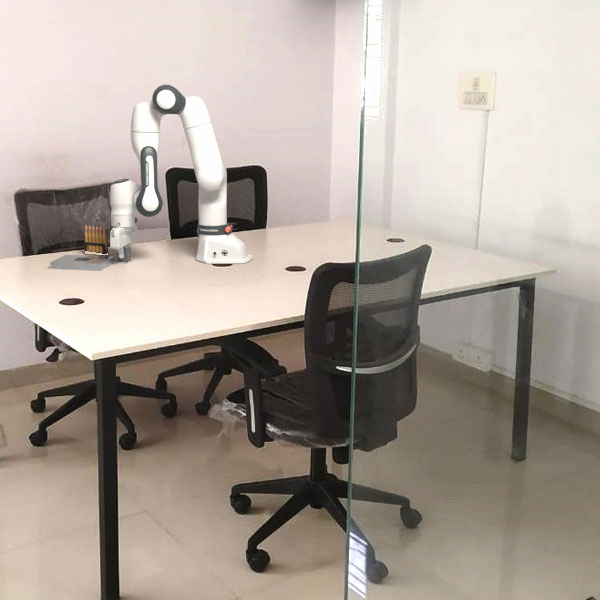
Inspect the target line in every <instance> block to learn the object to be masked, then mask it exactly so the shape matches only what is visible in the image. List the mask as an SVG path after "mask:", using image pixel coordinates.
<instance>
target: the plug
mask: <svg viewBox="0 0 600 600" xmlns="http://www.w3.org/2000/svg"><path fill="white" fill-rule="evenodd" d="M131 247H132V246H129V245H126V246H124V249H123V252H124V253H125V257H124V258H119V253H118V250H117V249H116V250H117V251H116V252H117V263H118V262H127V263H126V264H129V263H130V262H132V249H131ZM129 261H130V262H129ZM128 262H129V263H128Z"/></svg>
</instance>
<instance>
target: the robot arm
mask: <svg viewBox="0 0 600 600" xmlns="http://www.w3.org/2000/svg"><path fill="white" fill-rule="evenodd" d="M151 98H152V99H150V100H149V101H140V102H138V103H136V104H135V105H134V106H133V110H132V113H131V119H130V120H131V122H130V141H131V148H132V150H133V153H135V155H136V158H137V160H138V163H139V169H140V171H139V172H140V184H138V183H137V182H134V181H132V179H130V178H122V179H117V180H114V181H113V182H112V183H111V185H110V188H109V205H110V206H111V211H110V225H111V227H113V228H111V230H110V232H109V235H110V236H109V246H110V249H112V250H118V253H119V258H124V257H125V253H124V252H123V249H124V246H126V245H129V246H131V243H133V242H135V241H137V237H138V225H137V224H138V223H139V218H138V217H137V216H135V212H136V211H137V212H138V213H139V214H140V215H142V216H143V217H145V218H152V217H155V216H157V215H158V214H160V212H161V211H162V208H163V203H164V202H163V199H162V198H163V197H162V196H161V194H160V190H159V186H158V185H159V184H158V183H159V181H158V158H159V149H160V140H161V139H160V138H161V120H162V117H164V116H165V115H178V117H179V118H180V121H181V122H182V127H183V130H184V135H185V137H186V142H187V145H188V148H189V152H190V156H191V161H192V166H193V170H194V174H195V178H196V181H197V184H198V202H197V203H198V205H197V206H198V207H197V208H198V224H197V238H198V241H197V242H198V243H197V252H196V256H195V260H196V261H198V262H202V263H204V264H207V265H208V264H218V265H219V264H247V263H249V262H251V261H253V255H252V254H251V253H250V254H248V250H247V245H246V243H245V242H244V241H242V240H241V239H240V238H239V237H238V236H236V235H235V234H234V233H233V225H232V224H231V225H230V224H229V223H228V221H227V220H228V218H227V217H228V215H227V214H228V212H227V210H228V209H227V207H228V205H227V203H228V201H227V199H228V198H227V196H228V195H227V194H228V190H227V189H228V183H227V182H228V181H227V180H228V179H227V178H228V172H227V167H226V165H225V164H224V163H223V160H222V157H221V152H220V149H219V143H218V139H217V136H216V132H215V128H214V126H213V125H214V124H213V122H212V119H211V115H210V112H209V110H208V108H207V106H206V103H205V101H204V100H203V99H202V98H201V97H200V96H197V95H192V96H191V95H190V96H185V95H183V94H182V92H181V90H179V88H178V87H177V86H175V85H173V84H171V83H166V84H165V83H164V84H162V85H159V86H158V87H156V89H154V91H153V93H152V97H151ZM131 247H132V246H131Z"/></svg>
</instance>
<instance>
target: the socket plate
mask: <svg viewBox="0 0 600 600" xmlns="http://www.w3.org/2000/svg"><path fill="white" fill-rule="evenodd" d="M114 262H115V256H110V255H101V256H98V255H85V254H84V255H80V254H78V255H77V254H64V255H62V256H60V257H58V258H56V259H54V260H51V261H50V262H49V263H50V264H49V265H50V266H49V267H50V269H51V268H52V270H53V269H54V270H74V271H75V270H78V271H101V272H102V270H104V269H106V268H108V267H109V266H112V265H113V263H114ZM111 264H112V265H111ZM114 264H115V263H114Z"/></svg>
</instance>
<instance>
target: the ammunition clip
mask: <svg viewBox="0 0 600 600" xmlns="http://www.w3.org/2000/svg"><path fill="white" fill-rule="evenodd" d="M102 228H103V229H102ZM83 244H84V252H85V251H89V252H96V253H102V254H107V253H110V252H109V246H108V245H109V243H108V236H107V230H106V227H105V226H103V227H102V226H101V225H100V226H99V227H98V225H96V226H94V225H92V227H91V225H90V224H89V225H87V224H85V227H84V242H83Z"/></svg>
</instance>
